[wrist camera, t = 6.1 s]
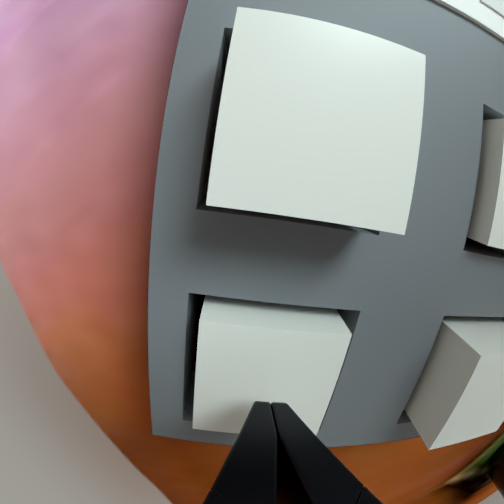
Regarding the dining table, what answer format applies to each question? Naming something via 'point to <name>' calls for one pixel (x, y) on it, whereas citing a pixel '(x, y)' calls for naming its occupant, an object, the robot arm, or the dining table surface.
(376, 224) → the button
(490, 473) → the supplement bottle
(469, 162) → the button board
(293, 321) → the button
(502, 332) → the button
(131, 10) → the dining table surface
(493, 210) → the button
